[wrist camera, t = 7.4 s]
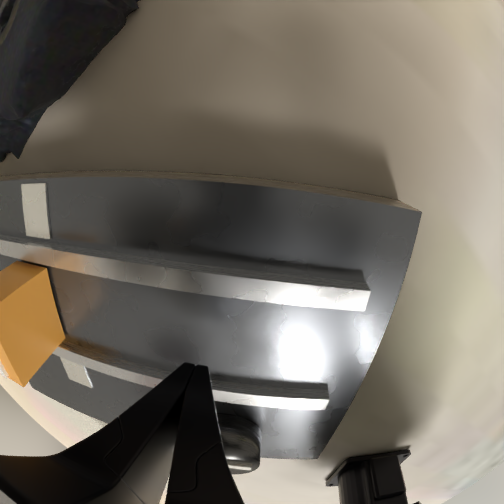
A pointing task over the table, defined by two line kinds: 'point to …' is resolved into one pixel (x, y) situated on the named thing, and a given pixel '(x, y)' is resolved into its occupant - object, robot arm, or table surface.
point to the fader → (26, 321)
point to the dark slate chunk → (47, 56)
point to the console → (212, 294)
